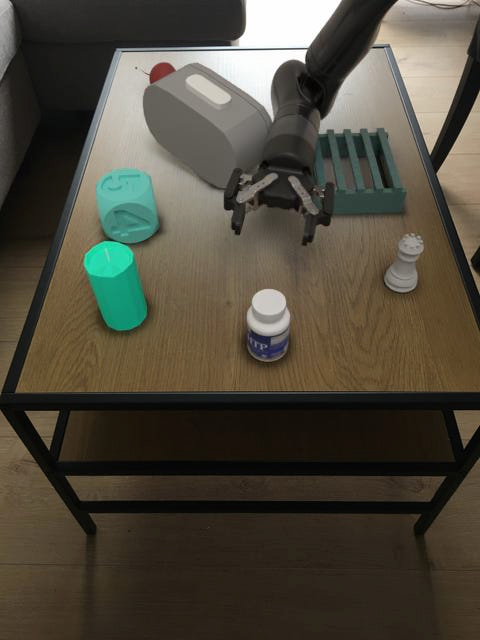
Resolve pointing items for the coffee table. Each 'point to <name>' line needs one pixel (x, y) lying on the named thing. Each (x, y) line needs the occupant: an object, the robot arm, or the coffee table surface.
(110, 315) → the candle
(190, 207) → the coffee table surface
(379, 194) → the rack
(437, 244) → the coffee table surface
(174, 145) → the alarm clock
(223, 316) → the coffee table surface
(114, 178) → the decorative dice
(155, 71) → the fruit
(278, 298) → the pill bottle
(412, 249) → the rook chess piece
